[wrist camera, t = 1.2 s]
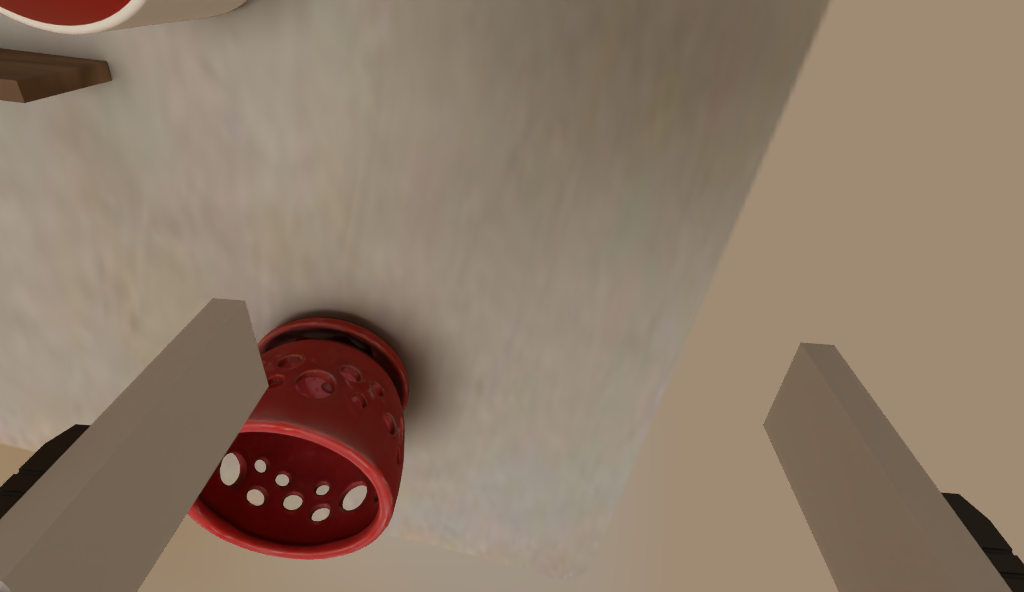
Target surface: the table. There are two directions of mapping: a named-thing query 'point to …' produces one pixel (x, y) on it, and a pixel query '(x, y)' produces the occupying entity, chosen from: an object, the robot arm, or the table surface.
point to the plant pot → (315, 444)
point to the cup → (109, 13)
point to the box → (46, 75)
